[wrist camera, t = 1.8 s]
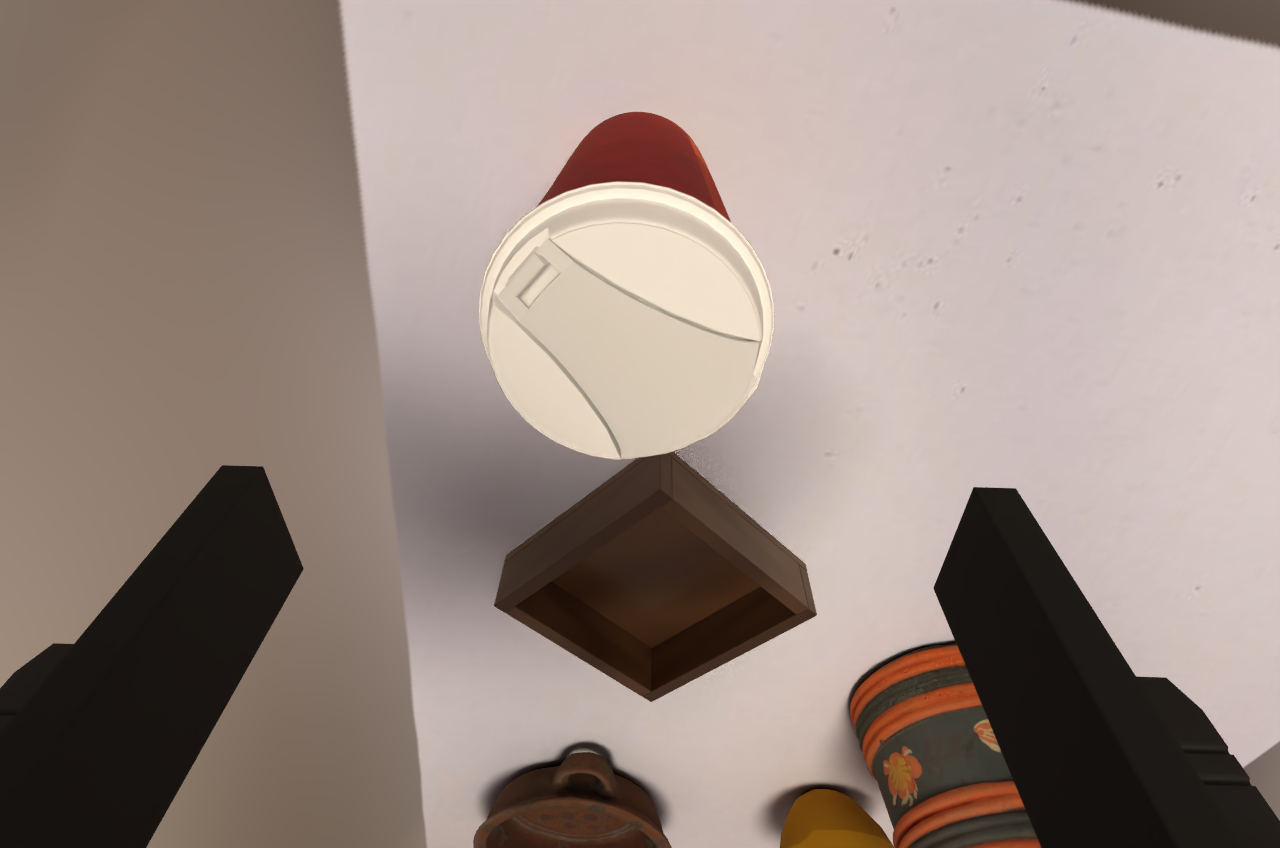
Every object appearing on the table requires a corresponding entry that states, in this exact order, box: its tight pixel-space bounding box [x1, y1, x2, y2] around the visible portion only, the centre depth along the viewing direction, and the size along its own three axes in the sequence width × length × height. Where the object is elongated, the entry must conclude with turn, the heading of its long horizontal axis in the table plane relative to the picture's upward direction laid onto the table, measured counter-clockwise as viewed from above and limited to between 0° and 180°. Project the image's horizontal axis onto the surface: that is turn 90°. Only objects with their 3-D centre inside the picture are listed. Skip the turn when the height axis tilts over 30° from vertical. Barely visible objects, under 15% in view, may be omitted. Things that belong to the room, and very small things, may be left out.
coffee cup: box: [479, 112, 774, 460], centre depth 24 cm, size 8×8×15 cm
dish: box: [473, 752, 671, 848], centre depth 61 cm, size 17×22×5 cm
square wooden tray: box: [494, 452, 817, 702], centre depth 43 cm, size 14×14×4 cm
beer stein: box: [850, 643, 1041, 848], centre depth 43 cm, size 19×15×20 cm
